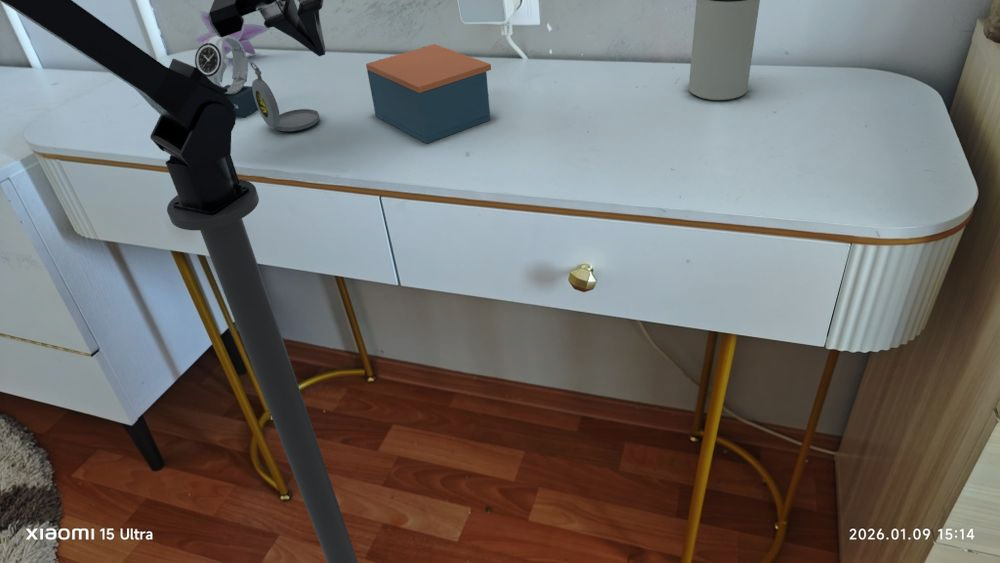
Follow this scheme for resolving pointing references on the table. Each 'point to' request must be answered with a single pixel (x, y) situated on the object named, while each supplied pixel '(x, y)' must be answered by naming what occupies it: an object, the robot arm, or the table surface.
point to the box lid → (428, 67)
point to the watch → (215, 63)
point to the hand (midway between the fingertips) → (322, 53)
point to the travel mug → (722, 48)
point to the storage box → (431, 106)
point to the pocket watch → (271, 113)
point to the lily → (242, 36)
